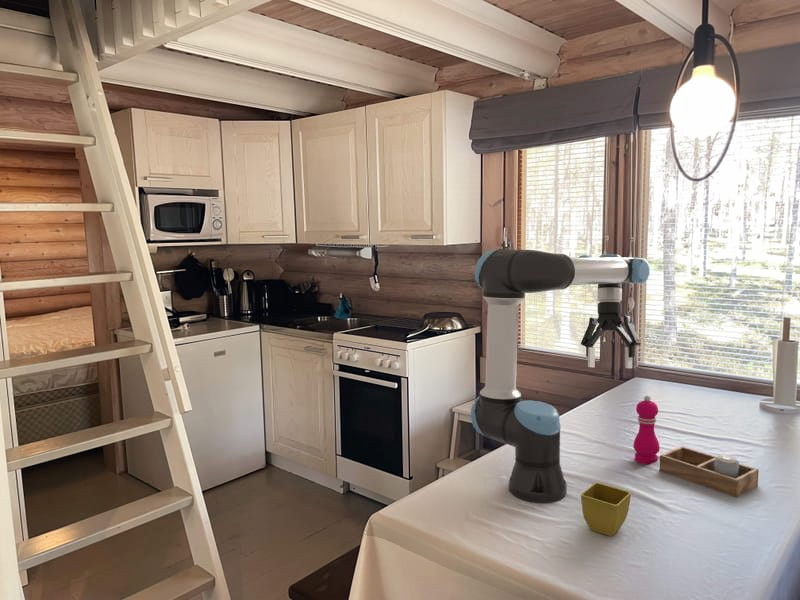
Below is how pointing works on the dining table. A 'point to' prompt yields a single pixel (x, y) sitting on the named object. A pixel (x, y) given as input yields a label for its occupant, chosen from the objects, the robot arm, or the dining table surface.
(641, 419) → the pepper mill
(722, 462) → the salt jar
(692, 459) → the caddy
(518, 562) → the dining table surface
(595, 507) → the flower pot
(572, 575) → the dining table surface
